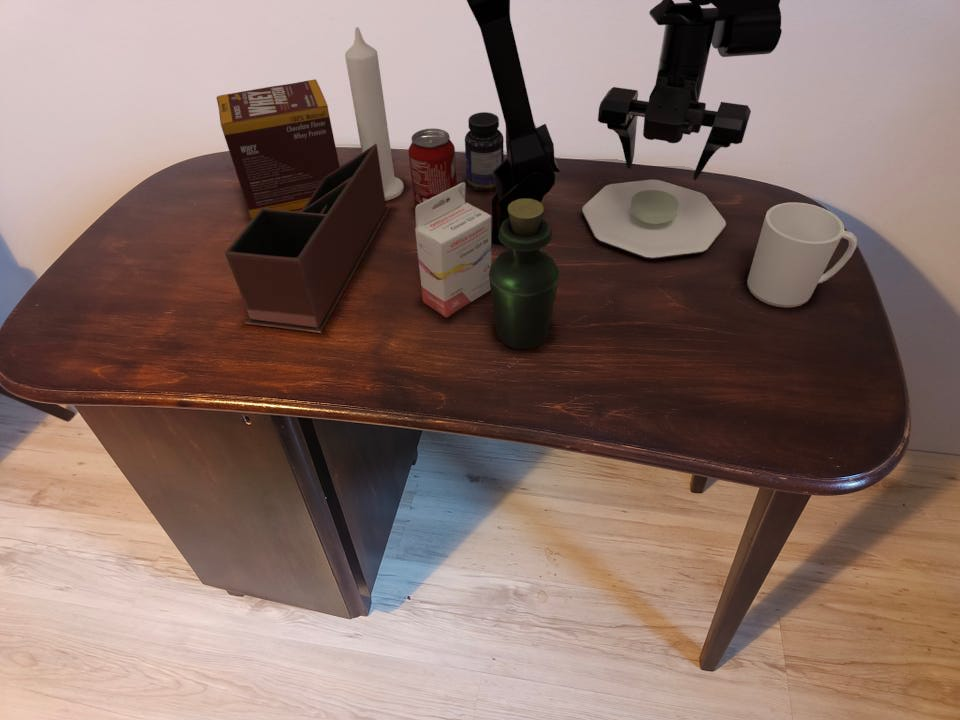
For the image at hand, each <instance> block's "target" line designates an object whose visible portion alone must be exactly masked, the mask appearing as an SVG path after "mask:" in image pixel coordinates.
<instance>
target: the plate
mask: <svg viewBox="0 0 960 720" xmlns="http://www.w3.org/2000/svg"><path fill="white" fill-rule="evenodd" d="M645 190H659V191H663V192H667V193H669V194H671V195H673V196H674V197H675V198H676V199H677V200H678V202H679V207H678V212H677V215H676V217H675V218H674V219H672V220H670V221H668V222H664V223H660V224H650V223H646V222H643V221H641V220H640V219H638V218H636V217H635V216H634V215H633V214H632V213H631V210H630V206H631V200H632V197H633V196H634V195H635V194H637V193H638V192H641V191H645ZM581 213H582V215H583V216H584V218H585V220H586V222H587V225H588V227H589V229H590V231H591V232H592V235H593V237H594V238H595V240H596V241H598V242H599V243H602V244H604V245H606V246H607V245H608V246H610V247H612V248H614V249H615V248H616V249H619V250H621V251H624V252H627V253H629V254H632V255H635V256H637V257H640V258H643V259H646V260H647V259H648V260H657V259H665V258H673V257H682V256H689V255H697V254H702V253H705V252H707V251H708V249H709V248H710V247H711V246H712V244H713V243H714V242H715V240H717V238H718V237H719V236H720V234H721V233H722V232H723V230H724V229H725V228H726V226H727V221H726V220H725V219H724V217H723V216H722V214H721V213H720V212H719V211H718V209H717V208H716V207H715V206H714V204H713V203H712V202H711V201H710V199H709V198H708V197H707V195H705V194H704V193H702V192H699V191H696V190H693V189H690V188H687V187H683V186H680V185H676V184H674V183H671V182H667V181H664V180H660V179H645V180H644V179H643V180H636V181H625V182H618V183H617V182H616V183H610V184H607V185H605V186H603V188H601V189H600V190H599V191H598V192H597V193H596V194H595V195H594V196H593V197H592V198H591V199H590V200H588V201H587V202H586V203H585V204H584V205H583V206H582V209H581Z"/></svg>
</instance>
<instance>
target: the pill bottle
mask: <svg viewBox="0 0 960 720" xmlns="http://www.w3.org/2000/svg"><path fill="white" fill-rule="evenodd" d="M467 122H468V125H467V126H468V129H469V130H468V132H467V133H466V134H465V137H464V151H465V153H464V154H465V172H466V173H465V174H466V184H467V185H468V186H469V188H470V189H472V190H474V191H477V192H484V193H485V192H493V191H496V188H495V183H494V179H493V174H492V172H493V171H494V170H495V169H496V168H497V167H498V166H499V165H500V164H501V163H502V162H503V161H504V160H505V159H504V157H505V156H504V141H505V139H504V136H503V133H502V132H501V130H499V127H500V119H499V116H498V115H496V114H495V113H492V112H487V111H484V112H483V111H482V112H476V113H473V114H471V115H470V116H469V117H468V121H467Z"/></svg>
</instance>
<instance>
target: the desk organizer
mask: <svg viewBox="0 0 960 720" xmlns="http://www.w3.org/2000/svg"><path fill="white" fill-rule="evenodd" d="M339 167H340V168H338V169H336V170H335V171H333V172H332V173H330V174H328V175H327V176H325V177H324V178H323V180H322V181H321V183H320V185H319V186H318V188H317V189H316V191H315V192H314V194H313V195H312V197H311V198H310V199H309V201H308V202H307V204H306V205H305V206H304V208H301V211H296V210H291V211H284V210H274V209H267V208H261V209H260V210H259V211H258V212H257V214H256V215H255V216H254V217H253V218H251V220H250V221H249V222H248V224H246V226H245V227H244V229H243V230H241V232H240V233H239V234H238V236H237V237H236V238H235V239H234V240H233V242H232V243H231V244H230V245H229V246H228V248H227V249H226V250H225V252H224V255H225V257H226V260H227V263H228V265H229V269H230V271H231V273H232V274H233V278H234V280H235V282H236V285H237V288H238V290H239V294H240V296H241V299H242V301H243V303H244V306H245V309H246V312H247V315H248V318H247V319H246V321H245V324H246V325H251V326H262V327H270V328H279V329H284V330H285V329H286V330H294V331H301V332H309V333H316V334H323V330H324V329H325V327H326V326H327V323H328V321H329V320H330V318H331V316H332V315H333V312H334V311H335V309H336V307H337V305H338V303H339V302H340V300H341V298H342V297H343V295H344V292H345V291H346V288H347V287H348V285H349V284H350V282H351V280H352V278H353V276H354V275H355V274H356V273H355V272H356V271H357V269H358V267H359V265H360V263H361V261H362V260H363V259H364V256H365V255H366V253H367V251H368V249H369V248H370V247H371V244H372V242H373V240H374V239H375V237H376V235H377V233H378V232H379V230H380V228H381V226H382V225H383V223H384V221H385V219H386V217H387V216H388V213H389V212H390V210H391V207H390V206H387V205H386V203H387V202H386V201H385V196H384V190H383V183H382V177H381V170H380V163H379V156H378V150H377V144H374V145H373V146H372V147H370V148H369V149H367V150H366V151H364V152H363V153H362V152H361V153H359V154H358V155H357V156H355V157H354V158H352V159H351V160H349V161H347V162H346V163H344V164H342V165H341V166H339Z"/></svg>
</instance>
